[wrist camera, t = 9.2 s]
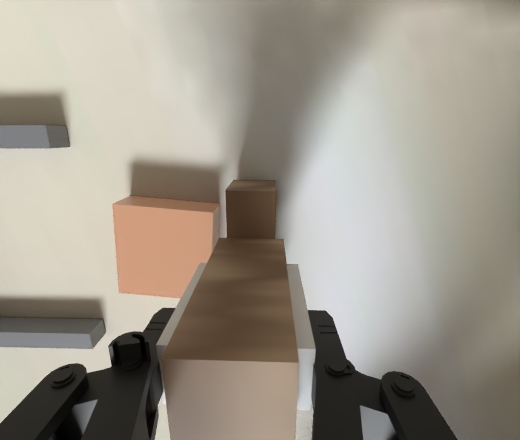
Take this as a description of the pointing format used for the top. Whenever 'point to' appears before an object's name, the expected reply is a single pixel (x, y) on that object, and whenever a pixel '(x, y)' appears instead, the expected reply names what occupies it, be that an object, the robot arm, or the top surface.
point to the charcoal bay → (45, 329)
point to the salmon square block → (162, 243)
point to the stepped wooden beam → (237, 333)
